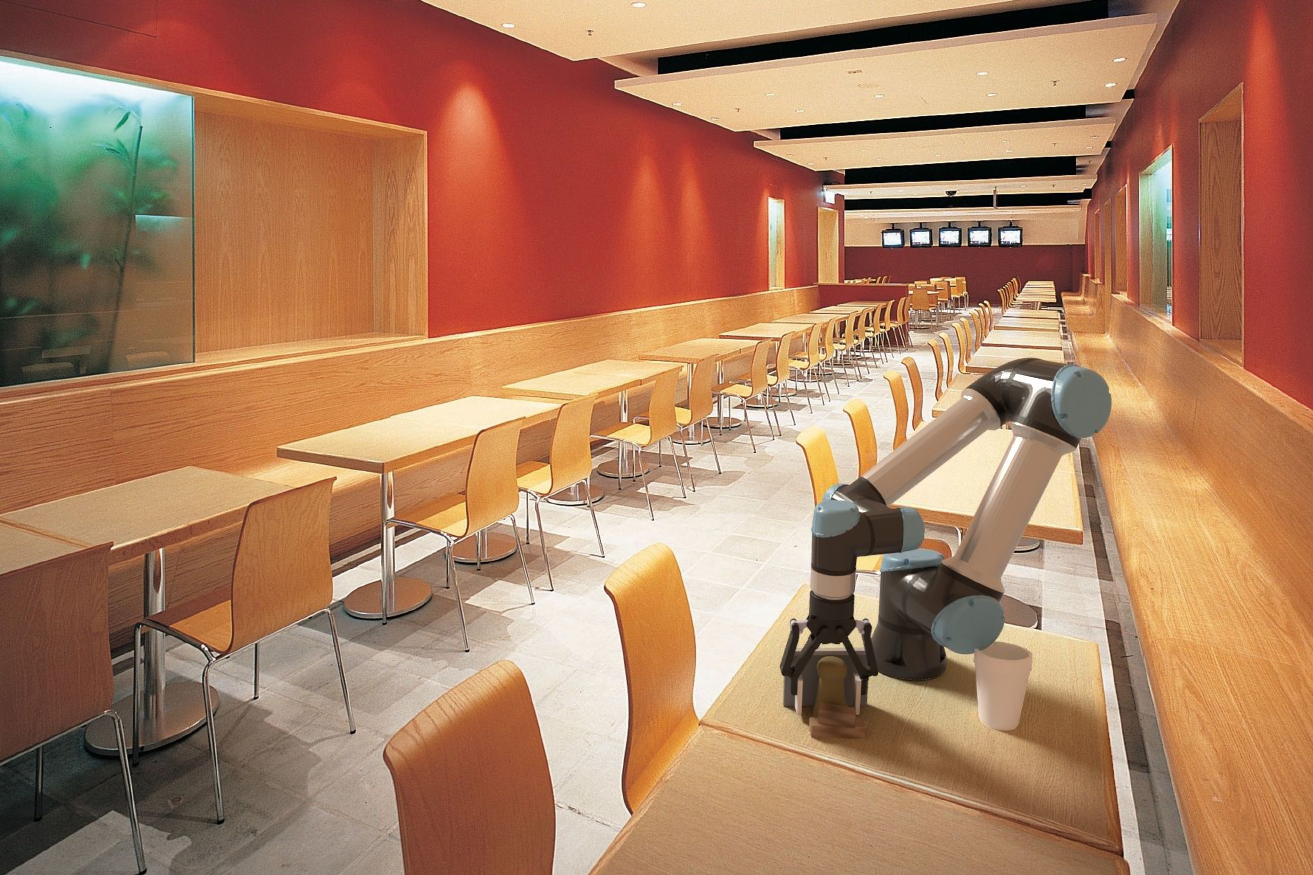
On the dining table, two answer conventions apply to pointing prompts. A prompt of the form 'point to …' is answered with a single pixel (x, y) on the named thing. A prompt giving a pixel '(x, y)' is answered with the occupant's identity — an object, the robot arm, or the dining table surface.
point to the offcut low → (836, 730)
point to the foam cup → (1001, 683)
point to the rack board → (812, 677)
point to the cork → (830, 682)
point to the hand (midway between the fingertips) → (826, 710)
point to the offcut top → (837, 715)
